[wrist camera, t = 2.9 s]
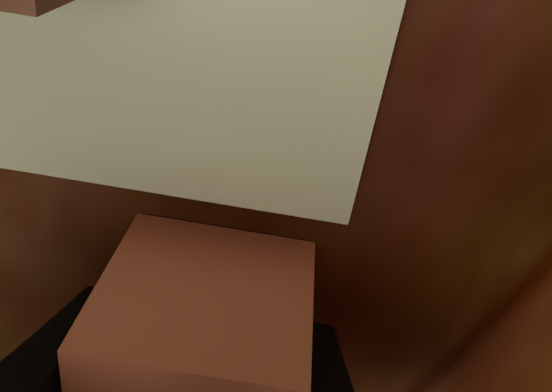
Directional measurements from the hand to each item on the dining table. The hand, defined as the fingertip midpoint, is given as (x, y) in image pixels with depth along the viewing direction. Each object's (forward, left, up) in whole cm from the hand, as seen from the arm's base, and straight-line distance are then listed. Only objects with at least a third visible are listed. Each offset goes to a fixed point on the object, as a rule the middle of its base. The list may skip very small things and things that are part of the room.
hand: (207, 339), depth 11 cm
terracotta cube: (0, 0, -1) cm, 1 cm away
